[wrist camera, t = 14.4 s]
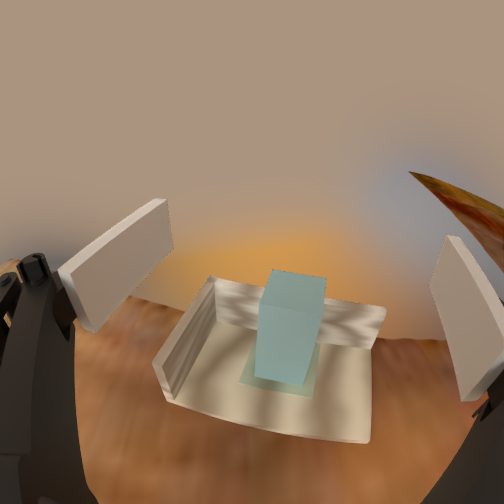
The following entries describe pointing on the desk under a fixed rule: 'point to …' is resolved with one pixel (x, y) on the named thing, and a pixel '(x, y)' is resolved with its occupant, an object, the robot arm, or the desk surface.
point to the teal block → (288, 326)
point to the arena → (264, 390)
